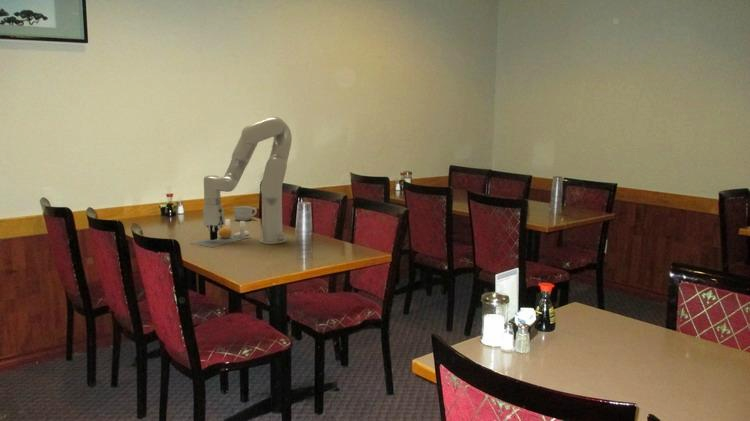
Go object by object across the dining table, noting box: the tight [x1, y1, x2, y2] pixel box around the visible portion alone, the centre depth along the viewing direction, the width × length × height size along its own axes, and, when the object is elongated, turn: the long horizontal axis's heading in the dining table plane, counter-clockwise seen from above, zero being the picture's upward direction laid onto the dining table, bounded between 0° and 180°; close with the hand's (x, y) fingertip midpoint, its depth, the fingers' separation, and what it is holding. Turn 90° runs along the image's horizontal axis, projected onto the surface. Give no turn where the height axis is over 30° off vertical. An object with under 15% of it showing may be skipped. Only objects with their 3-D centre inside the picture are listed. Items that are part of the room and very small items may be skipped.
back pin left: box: [239, 221, 246, 238], centre depth 291 cm, size 2×2×8 cm
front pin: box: [233, 230, 250, 238], centre depth 296 cm, size 2×2×8 cm
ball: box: [218, 226, 232, 239], centre depth 291 cm, size 6×6×6 cm
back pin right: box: [224, 218, 231, 229], centre depth 296 cm, size 2×2×8 cm
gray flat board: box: [190, 233, 252, 248], centre depth 287 cm, size 14×26×1 cm, turn 149°
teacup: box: [233, 205, 258, 222], centre depth 340 cm, size 14×11×8 cm
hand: (213, 239), depth 282 cm, fingers closed
